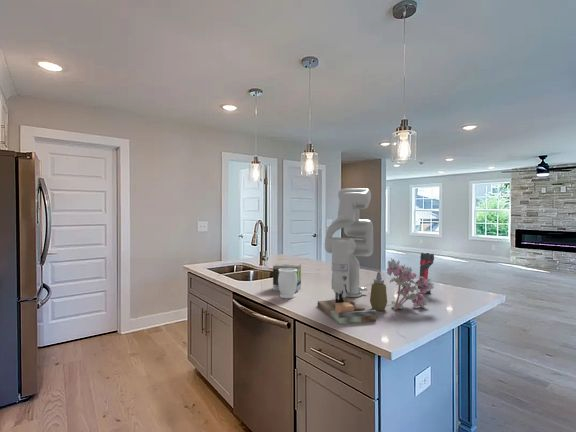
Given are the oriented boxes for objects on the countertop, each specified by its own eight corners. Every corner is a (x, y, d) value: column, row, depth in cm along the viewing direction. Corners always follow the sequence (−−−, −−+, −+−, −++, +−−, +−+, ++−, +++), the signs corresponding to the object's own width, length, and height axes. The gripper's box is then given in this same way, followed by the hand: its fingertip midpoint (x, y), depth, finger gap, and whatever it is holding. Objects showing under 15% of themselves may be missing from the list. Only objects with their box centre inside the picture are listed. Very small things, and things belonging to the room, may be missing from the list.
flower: (430, 317, 140) (438, 262, 149) (377, 304, 150) (388, 254, 159) (430, 323, 157) (437, 274, 165) (382, 312, 167) (391, 266, 175)
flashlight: (436, 294, 187) (437, 254, 186) (423, 294, 185) (424, 254, 185) (428, 290, 194) (429, 252, 194) (416, 291, 193) (417, 252, 193)
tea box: (301, 288, 196) (301, 264, 195) (297, 292, 186) (297, 266, 186) (277, 286, 199) (277, 262, 199) (272, 290, 190) (272, 265, 189)
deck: (349, 303, 164) (349, 295, 164) (376, 321, 139) (376, 310, 139) (317, 306, 159) (317, 297, 159) (339, 324, 134) (339, 313, 134)
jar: (295, 300, 170) (295, 271, 170) (275, 298, 172) (276, 270, 172) (298, 294, 180) (298, 268, 180) (280, 293, 182) (280, 267, 182)
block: (347, 311, 144) (348, 302, 144) (353, 315, 138) (354, 306, 138) (335, 312, 142) (335, 302, 142) (340, 316, 137) (340, 306, 136)
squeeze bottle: (374, 305, 162) (374, 269, 161) (389, 308, 156) (390, 271, 156) (366, 309, 155) (367, 271, 155) (382, 312, 150) (383, 274, 150)
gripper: (355, 269, 139) (354, 312, 139) (340, 264, 153) (340, 302, 153) (339, 270, 137) (338, 313, 137) (326, 264, 151) (325, 303, 151)
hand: (339, 307), depth 145 cm, fingers closed
